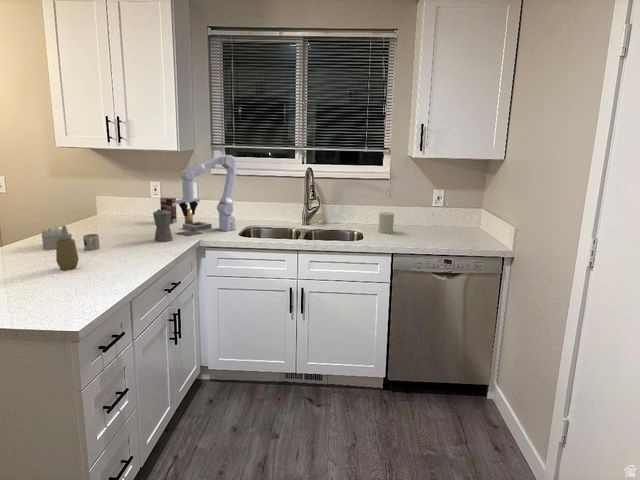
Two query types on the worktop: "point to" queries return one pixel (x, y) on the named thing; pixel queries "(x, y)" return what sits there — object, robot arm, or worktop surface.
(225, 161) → the robot arm
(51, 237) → the lumpy-topped squat cylinder
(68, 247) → the squeeze bottle
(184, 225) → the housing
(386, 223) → the can
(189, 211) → the end cap
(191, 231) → the mat
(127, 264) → the worktop surface
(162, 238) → the coffeepot
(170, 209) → the supplement box
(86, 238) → the mug
